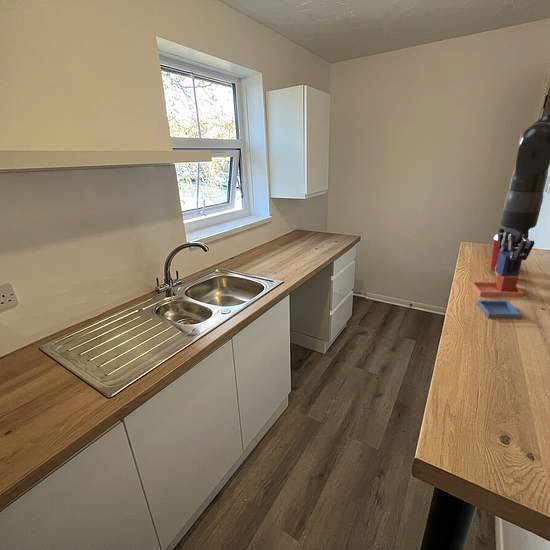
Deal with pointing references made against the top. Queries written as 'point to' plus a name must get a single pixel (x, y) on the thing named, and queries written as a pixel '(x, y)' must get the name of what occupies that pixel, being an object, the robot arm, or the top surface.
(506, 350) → the top surface
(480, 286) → the terracotta tray
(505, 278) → the terracotta pillar
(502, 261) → the slate pillar
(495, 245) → the paper cup
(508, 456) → the top surface
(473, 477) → the top surface
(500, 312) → the slate tray
